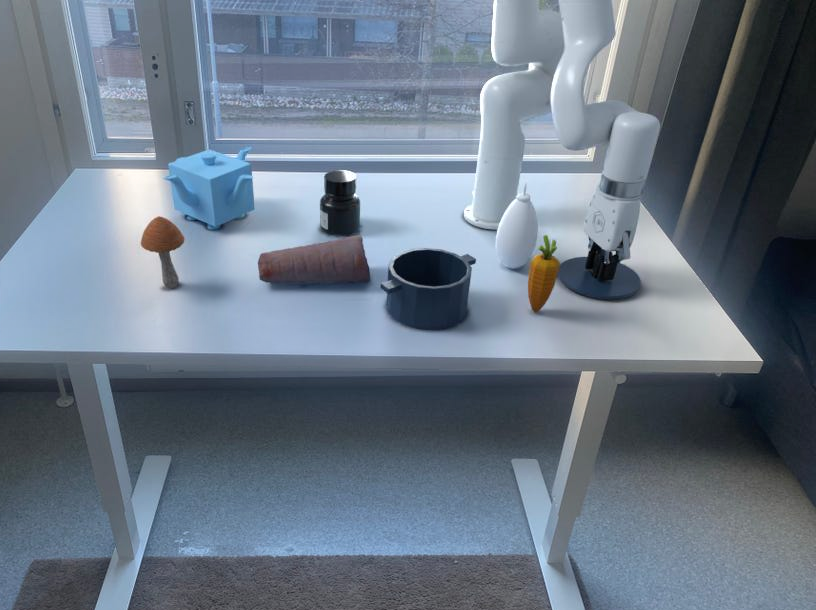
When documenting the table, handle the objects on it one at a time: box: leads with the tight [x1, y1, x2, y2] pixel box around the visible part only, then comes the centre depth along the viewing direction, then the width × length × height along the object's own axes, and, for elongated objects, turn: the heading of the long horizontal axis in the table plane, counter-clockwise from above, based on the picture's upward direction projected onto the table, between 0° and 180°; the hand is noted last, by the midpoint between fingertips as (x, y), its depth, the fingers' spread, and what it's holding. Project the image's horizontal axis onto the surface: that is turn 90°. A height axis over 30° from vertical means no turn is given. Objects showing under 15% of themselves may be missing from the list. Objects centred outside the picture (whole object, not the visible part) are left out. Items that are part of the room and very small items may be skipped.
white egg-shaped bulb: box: [495, 182, 539, 270], centre depth 137 cm, size 8×8×18 cm
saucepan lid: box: [557, 249, 642, 300], centre depth 136 cm, size 16×16×6 cm
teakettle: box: [163, 146, 255, 230], centre depth 157 cm, size 19×19×15 cm
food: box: [257, 234, 371, 285], centre depth 135 cm, size 21×9×9 cm, turn 99°
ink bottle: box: [319, 169, 361, 236], centre depth 153 cm, size 10×9×12 cm
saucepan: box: [380, 247, 477, 331], centre depth 128 cm, size 15×20×8 cm
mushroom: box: [140, 215, 186, 290], centre depth 131 cm, size 8×8×15 cm
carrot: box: [527, 234, 561, 314], centre depth 124 cm, size 5×5×15 cm
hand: (598, 273), depth 137 cm, fingers open, 4 cm apart
